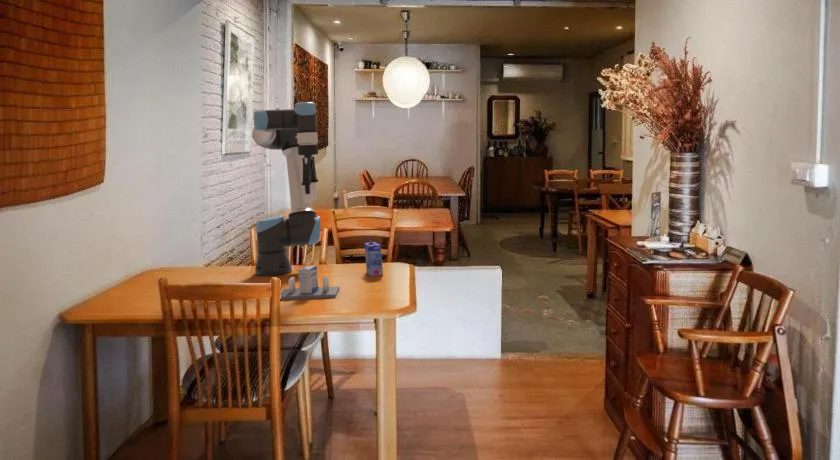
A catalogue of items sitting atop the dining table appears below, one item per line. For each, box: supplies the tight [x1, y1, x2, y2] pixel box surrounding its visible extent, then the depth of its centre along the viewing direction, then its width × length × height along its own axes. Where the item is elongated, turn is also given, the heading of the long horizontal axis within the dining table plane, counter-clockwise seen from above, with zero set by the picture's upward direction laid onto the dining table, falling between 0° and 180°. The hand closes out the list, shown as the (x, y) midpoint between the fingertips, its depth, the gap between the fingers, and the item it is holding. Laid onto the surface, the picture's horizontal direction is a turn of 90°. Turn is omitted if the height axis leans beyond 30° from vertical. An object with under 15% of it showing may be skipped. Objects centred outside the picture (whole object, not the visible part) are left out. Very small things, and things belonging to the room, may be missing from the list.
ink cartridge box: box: [364, 238, 384, 277], centre depth 312 cm, size 10×6×14 cm, turn 13°
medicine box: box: [297, 265, 319, 294], centre depth 277 cm, size 8×4×9 cm, turn 169°
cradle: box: [280, 275, 340, 301], centre depth 277 cm, size 14×20×6 cm
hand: (311, 201), depth 293 cm, fingers open, 13 cm apart
